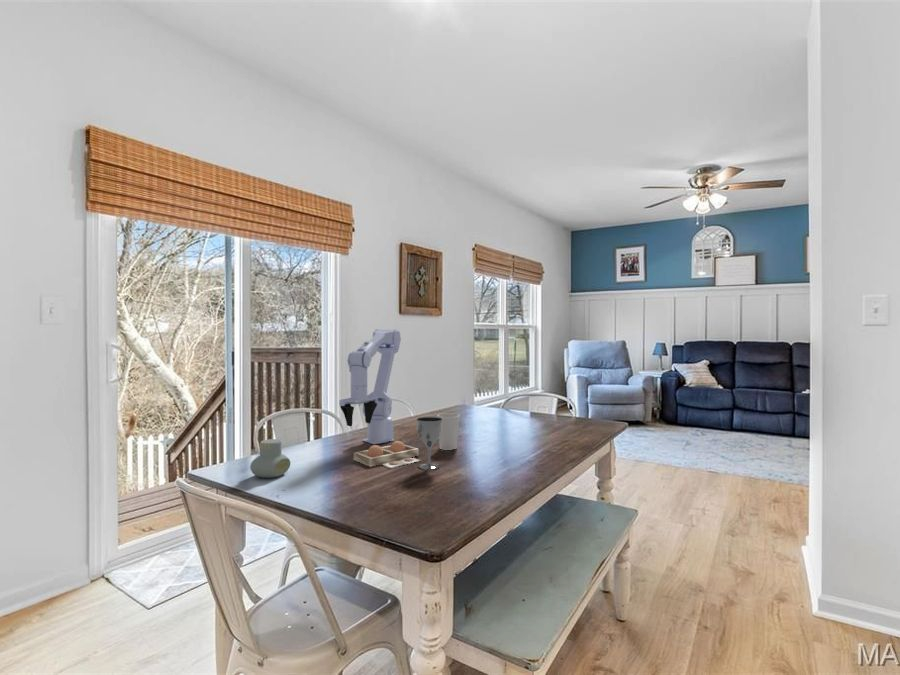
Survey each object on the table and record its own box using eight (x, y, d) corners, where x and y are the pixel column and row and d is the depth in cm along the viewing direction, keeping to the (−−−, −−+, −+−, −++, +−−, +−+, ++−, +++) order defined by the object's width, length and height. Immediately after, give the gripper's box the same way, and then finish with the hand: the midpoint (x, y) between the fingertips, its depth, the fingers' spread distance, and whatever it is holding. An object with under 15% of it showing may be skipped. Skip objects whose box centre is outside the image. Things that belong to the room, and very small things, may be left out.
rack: (400, 450, 168) (400, 443, 168) (429, 459, 156) (429, 451, 156) (353, 460, 155) (353, 452, 155) (380, 470, 143) (381, 462, 143)
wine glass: (447, 466, 148) (447, 418, 148) (428, 472, 142) (429, 422, 142) (429, 462, 153) (429, 415, 153) (411, 467, 147) (411, 418, 147)
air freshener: (269, 482, 132) (269, 446, 132) (245, 479, 134) (245, 444, 134) (294, 471, 142) (294, 438, 142) (271, 469, 145) (271, 436, 144)
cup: (463, 447, 172) (463, 414, 172) (451, 452, 165) (451, 418, 165) (445, 444, 176) (445, 412, 176) (432, 449, 170) (433, 415, 169)
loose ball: (373, 457, 158) (373, 442, 158) (385, 459, 156) (386, 444, 156) (364, 461, 153) (364, 446, 153) (377, 463, 151) (377, 447, 151)
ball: (399, 453, 164) (399, 438, 164) (408, 456, 160) (408, 441, 160) (387, 455, 161) (387, 440, 161) (396, 458, 157) (396, 443, 157)
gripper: (369, 383, 174) (369, 420, 174) (334, 386, 164) (334, 425, 164) (381, 384, 169) (381, 422, 169) (345, 387, 159) (345, 428, 159)
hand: (358, 424), depth 166 cm, fingers open, 7 cm apart
